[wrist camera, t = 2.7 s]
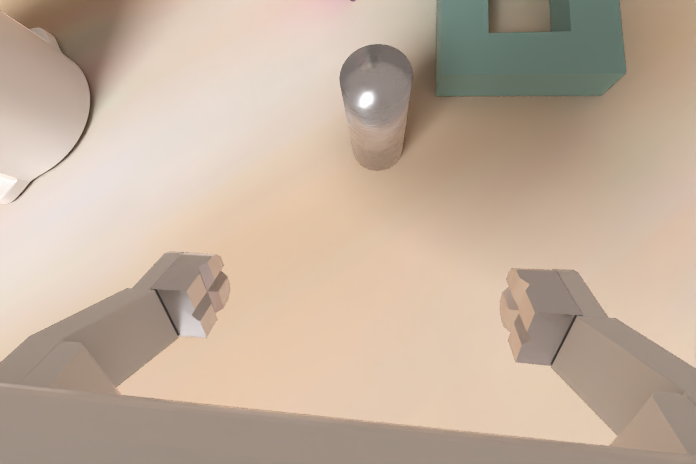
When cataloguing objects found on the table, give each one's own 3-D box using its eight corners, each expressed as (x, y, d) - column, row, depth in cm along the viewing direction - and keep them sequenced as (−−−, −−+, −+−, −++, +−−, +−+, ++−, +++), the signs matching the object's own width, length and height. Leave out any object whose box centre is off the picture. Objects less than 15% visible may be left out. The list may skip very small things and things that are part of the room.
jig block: (435, 96, 30) (441, 74, 27) (437, -35, 33) (442, -67, 30) (601, 95, 29) (626, 73, 26) (590, -42, 31) (612, -76, 28)
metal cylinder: (352, 170, 30) (337, 109, 20) (354, 124, 31) (342, 44, 21) (401, 171, 29) (411, 109, 20) (403, 124, 30) (413, 43, 20)
